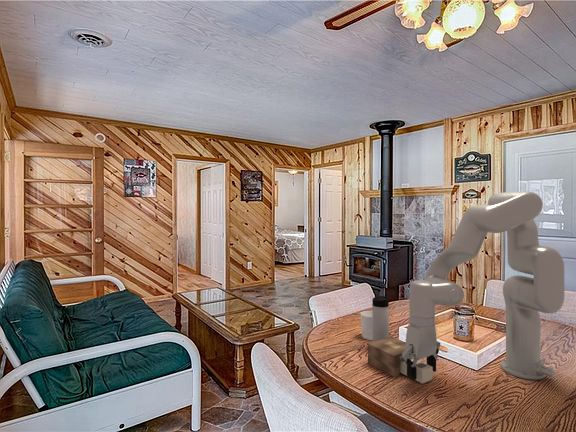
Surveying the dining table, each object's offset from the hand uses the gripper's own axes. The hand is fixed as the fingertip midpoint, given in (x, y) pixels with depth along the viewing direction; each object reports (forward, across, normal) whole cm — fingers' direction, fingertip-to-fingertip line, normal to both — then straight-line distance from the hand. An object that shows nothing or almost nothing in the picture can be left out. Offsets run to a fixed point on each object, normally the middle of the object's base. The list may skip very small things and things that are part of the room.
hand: (421, 373), depth 110 cm
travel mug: (+2, -8, -25) cm, 26 cm away
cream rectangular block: (+2, 0, -5) cm, 5 cm away
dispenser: (+2, 0, -12) cm, 12 cm away
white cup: (+2, -12, -35) cm, 37 cm away
